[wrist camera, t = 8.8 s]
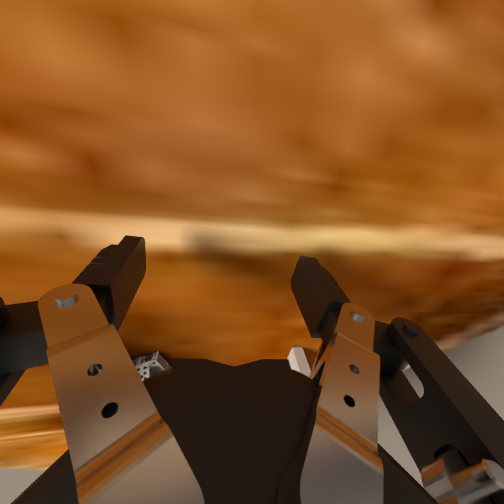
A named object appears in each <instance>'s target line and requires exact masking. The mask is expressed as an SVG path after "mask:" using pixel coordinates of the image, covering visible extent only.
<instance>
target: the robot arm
mask: <svg viewBox="0 0 504 504" xmlns="http://www.w3.org/2000/svg"><path fill="white" fill-rule="evenodd" d="M145 271H146V253H145V240H144V238H143V237H136V236H127V235H126V236H125V237H124V238H123V239H122V240H121V242H120V243H119V244H118V245H113V244H112V245H110V246H108V247H106V248H104V249H102V250H101V251H100V252H99V253H98V254H97V256H96V258H94V259H93V260H92V261H91V262H90V264H89V265H88V266H87V267H86V268H85V269H84V270H83V271H82V272H81V273H80V275H79V276H78V277H77V278H76V279H75V280H74V281H73V282H72V284H67V285H63V286H59V287H56V288H54V289H52V290H50V291H48V292H46V293H45V294H44V295H43V296H42V297H41V298H40V299H39V301H34V302H26V303H19V304H12V305H5V303H4V301H3V299H2V298H1V297H0V406H1V405H2V403H3V402H4V400H5V399H6V397H7V396H8V395H9V393H10V392H11V390H12V389H13V387H14V386H15V385H16V383H17V382H18V380H19V379H20V377H21V376H22V374H23V373H24V372H25V370H26V369H28V368H32V367H36V366H40V365H44V364H48V363H49V366H50V371H51V375H52V379H53V384H54V388H55V392H56V397H57V401H58V405H59V410H60V414H61V418H62V422H63V427H64V431H65V435H66V440H67V444H68V448H69V449H68V450H67V451H66V452H65V453H64V454H63V455H62V456H61V457H60V458H59V459H58V460H56V461H55V462H54V463H53V464H52V465H51V466H50V467H49V468H48V469H47V470H46V471H45V472H44V473H43V474H42V475H41V476H40V477H39V478H37V479H36V480H35V481H34V482H33V483H32V484H31V485H30V486H29V487H28V488H27V489H26V490H25V491H24V492H23V493H22V494H21V495H20V496H19V497H18V498H16V499H15V500H14V501H13V502H12V503H11V504H504V420H503V419H502V418H501V417H500V416H499V415H498V414H497V413H496V411H495V410H494V409H493V408H492V407H491V406H490V405H489V404H488V403H487V401H486V400H485V399H484V398H483V397H482V396H481V395H480V393H479V392H478V391H477V390H476V389H475V388H474V387H473V386H472V384H471V383H470V382H469V381H468V380H467V379H466V378H465V377H464V376H463V374H462V373H461V372H460V371H459V370H458V369H457V368H456V366H454V364H453V363H452V362H451V361H450V360H449V359H448V357H447V356H446V355H445V354H444V353H443V352H442V351H441V350H440V348H439V347H438V346H437V345H436V344H435V343H434V342H433V341H432V339H431V338H430V337H429V336H428V335H427V334H426V333H425V332H424V331H423V330H422V329H421V328H420V327H419V326H418V325H416V324H415V323H413V322H411V321H409V320H407V319H404V318H394V319H393V321H392V322H391V323H390V325H389V324H385V323H382V322H379V321H376V320H374V317H373V316H372V314H371V313H370V312H369V311H368V310H366V309H365V308H363V307H362V306H360V305H358V304H355V303H351V302H350V301H349V299H348V298H347V296H346V295H345V293H344V292H343V291H342V289H341V288H340V286H338V283H337V282H336V281H335V279H334V278H333V276H332V275H331V273H330V272H328V271H327V270H326V269H325V268H324V267H321V265H320V264H319V262H318V261H317V259H316V258H315V257H308V256H300V258H299V260H298V262H297V265H296V268H295V270H294V273H293V276H292V279H291V289H292V291H293V294H294V296H295V298H296V301H297V303H298V306H299V308H300V311H301V313H302V315H303V318H304V320H305V323H306V325H307V328H308V330H309V333H310V335H311V337H312V338H321V339H322V343H321V345H320V347H319V350H318V353H317V356H316V359H315V361H314V364H313V367H312V370H311V373H310V375H309V377H308V376H306V375H304V374H302V373H300V372H298V371H296V370H293V369H291V367H290V363H289V359H262V360H258V361H254V362H250V363H246V364H243V365H239V366H230V365H226V364H222V363H218V362H214V361H211V360H207V359H173V362H172V368H171V369H168V370H164V371H162V372H159V373H156V374H154V375H152V376H150V377H148V378H147V379H145V380H144V381H142V380H141V378H140V376H139V374H138V372H137V370H136V368H135V366H134V364H133V362H132V360H131V358H130V356H129V354H128V352H127V350H126V348H125V346H124V344H123V342H122V340H121V338H120V336H119V334H118V332H117V331H118V330H119V328H120V325H121V323H122V321H123V319H124V317H125V315H126V313H127V311H128V309H129V307H130V305H131V303H132V300H133V298H134V296H135V294H136V292H137V290H138V288H139V286H140V284H141V282H142V280H143V278H144V275H145ZM408 364H409V365H410V367H411V368H412V369H413V371H414V372H415V374H416V375H417V376H418V378H419V379H420V381H421V382H422V384H423V387H424V395H423V396H422V397H421V398H419V396H418V395H417V393H416V392H415V390H414V389H413V387H412V386H411V384H410V383H409V381H408V380H407V378H406V377H405V375H404V374H403V372H402V371H403V370H404V369H405V367H406V366H407V365H408ZM379 394H380V396H381V398H382V400H383V402H384V404H385V406H386V408H387V409H388V412H389V414H390V415H391V417H392V419H393V421H394V423H395V425H396V427H397V429H398V431H399V433H400V435H401V436H402V439H403V440H404V442H405V444H406V446H407V448H408V450H409V452H410V454H411V456H412V458H413V459H414V461H415V463H416V465H417V467H418V469H419V471H420V473H421V478H422V483H423V486H424V488H423V487H422V486H421V485H420V484H419V483H418V482H417V481H416V480H415V479H414V478H413V477H412V476H411V475H410V474H409V473H408V472H407V471H406V470H405V469H404V468H402V467H401V466H400V465H399V463H398V462H397V461H396V460H394V458H393V457H391V456H390V455H389V454H388V453H387V452H386V451H385V450H384V449H383V448H382V447H381V446H380V445H379V444H378V443H377V441H378V438H377V437H378V410H379Z"/></svg>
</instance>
